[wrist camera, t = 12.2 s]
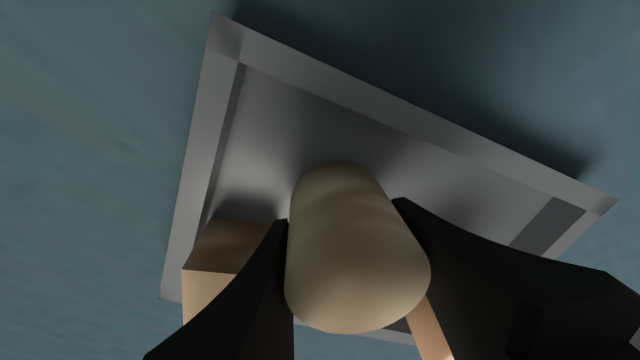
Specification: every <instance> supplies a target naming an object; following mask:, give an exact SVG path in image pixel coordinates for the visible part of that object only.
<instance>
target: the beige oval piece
mask: <svg viewBox="0 0 640 360" xmlns="http://www.w3.org/2000/svg"><path fill="white" fill-rule="evenodd" d="M430 278H431V267H430V263H429V260H428V257H427V255H426V253H425V252H424V250H423V249H422V247H421V246H420V244H419V243H418V241H417V240H416V238H415V237H414V235H413V234H412V232H411V231H410V229H409V228H408V226H407V225H406V223H405V222H404V220H403V219H402V217H401V216H400V214H399V213H398V211H397V210H396V208H395V207H394V205H393V204H392V202H391V201H390V199H389V198H388V196H387V195H386V193H385V192H384V190H383V189H382V187H381V186H380V184H379V183H378V181H377V180H376V178H375V177H374V176H373V174H372V173H371V172H370V171H368V170H367V169H366V168H364V167H362V166H361V165H358V164H356V163H352V162H348V161H331V162H326V163H322V164H320V165H317V166H315V167H314V168H312V169H310V170H309V171H307V172H306V173H305V174H304V175H303V176H302V177H301V178H300V179H299V180H298V182H297V183H296V185H295V187H294V189H293V191H292V195H291V201H290V213H289V226H288V240H287V253H286V266H285V279H284V295H285V299H286V302H287V305H288V307H289V308H290V310H291V311H292V313H293V314H294V315H295V316H296V317H297V318H298V319H299V320H301V321H302V322H303V323H305V324H307V325H308V326H310V327H313V328H315V329H318V330H321V331H324V332H329V333H336V334H358V333H365V332H369V331H374V330H377V329H380V328H383V327H385V326H388V325H390V324H392V323H394V322H396V321H398V320H399V319H401V318H402V317H404V316H405V315H407V314H408V313H409V312H410V311H412V310H413V309H414V308H415V307H416V306H417V305H418V303H419V302H420V301H421V300H422V298H423V297H424V295H425V293H426V291H427V289H428V286H429V283H430Z"/></svg>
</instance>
